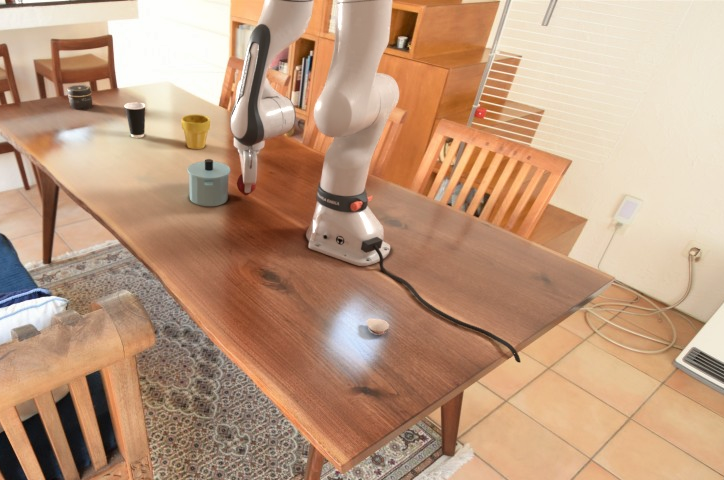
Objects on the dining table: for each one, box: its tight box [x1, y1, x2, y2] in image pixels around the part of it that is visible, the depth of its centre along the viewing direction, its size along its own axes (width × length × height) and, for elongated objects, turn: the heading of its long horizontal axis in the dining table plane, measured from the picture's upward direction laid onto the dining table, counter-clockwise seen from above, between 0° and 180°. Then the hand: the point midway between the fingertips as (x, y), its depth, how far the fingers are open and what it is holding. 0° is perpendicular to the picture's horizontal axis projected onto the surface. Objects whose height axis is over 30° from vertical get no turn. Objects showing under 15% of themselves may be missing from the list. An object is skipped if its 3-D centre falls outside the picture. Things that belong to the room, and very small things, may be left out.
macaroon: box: [366, 318, 390, 336], centre depth 102 cm, size 4×5×2 cm
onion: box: [236, 173, 257, 196], centre depth 146 cm, size 6×6×8 cm
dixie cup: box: [123, 101, 147, 139], centre depth 185 cm, size 8×8×11 cm
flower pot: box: [181, 114, 211, 150], centre depth 178 cm, size 10×10×10 cm
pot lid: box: [186, 158, 231, 179], centre depth 142 cm, size 13×13×4 cm
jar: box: [66, 84, 93, 111], centre depth 213 cm, size 10×10×8 cm
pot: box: [188, 173, 230, 207], centre depth 146 cm, size 12×17×8 cm
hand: (246, 186), depth 146 cm, fingers closed on onion, 6 cm apart
